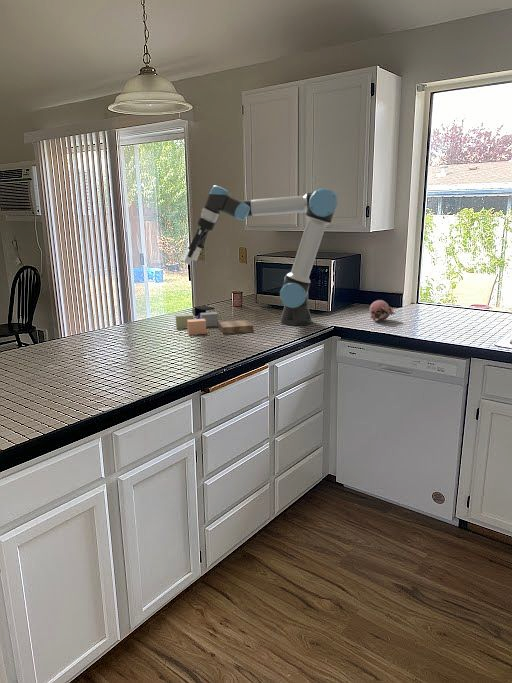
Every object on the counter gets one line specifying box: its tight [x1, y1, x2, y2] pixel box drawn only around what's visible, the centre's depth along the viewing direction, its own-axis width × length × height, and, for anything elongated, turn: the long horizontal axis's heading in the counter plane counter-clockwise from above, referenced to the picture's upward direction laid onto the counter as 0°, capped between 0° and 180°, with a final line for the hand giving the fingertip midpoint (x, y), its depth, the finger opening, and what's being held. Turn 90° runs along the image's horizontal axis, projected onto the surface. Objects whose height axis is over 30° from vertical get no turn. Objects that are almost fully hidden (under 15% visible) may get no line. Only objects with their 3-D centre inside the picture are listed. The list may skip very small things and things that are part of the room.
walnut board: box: [217, 319, 254, 335], centre depth 243 cm, size 14×12×3 cm
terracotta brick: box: [186, 318, 207, 336], centre depth 239 cm, size 8×5×6 cm, turn 104°
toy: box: [368, 299, 396, 323], centre depth 254 cm, size 12×11×15 cm
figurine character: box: [191, 305, 215, 319], centre depth 266 cm, size 7×8×15 cm
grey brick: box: [200, 311, 219, 328], centre depth 254 cm, size 8×5×6 cm, turn 104°
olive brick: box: [174, 313, 194, 330], centre depth 251 cm, size 8×5×6 cm, turn 104°
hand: (190, 261), depth 245 cm, fingers open, 13 cm apart
